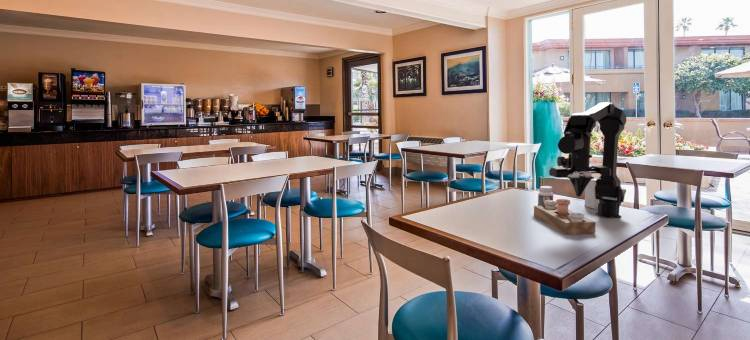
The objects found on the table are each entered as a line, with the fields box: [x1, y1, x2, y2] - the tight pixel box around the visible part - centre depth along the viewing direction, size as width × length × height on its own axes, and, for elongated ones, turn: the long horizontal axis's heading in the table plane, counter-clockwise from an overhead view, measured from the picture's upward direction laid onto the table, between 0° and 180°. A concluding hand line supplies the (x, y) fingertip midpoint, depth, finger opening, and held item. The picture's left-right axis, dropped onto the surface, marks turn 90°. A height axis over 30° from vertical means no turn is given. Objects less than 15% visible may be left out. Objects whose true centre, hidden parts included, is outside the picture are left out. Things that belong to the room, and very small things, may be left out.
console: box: [533, 205, 597, 235], centre depth 151 cm, size 10×25×4 cm, turn 3°
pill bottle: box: [537, 185, 554, 206], centre depth 170 cm, size 6×6×10 cm
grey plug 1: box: [544, 199, 557, 209], centre depth 160 cm, size 5×5×6 cm
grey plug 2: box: [569, 211, 585, 222], centre depth 141 cm, size 5×5×6 cm
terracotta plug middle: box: [555, 198, 571, 215], centre depth 150 cm, size 5×5×6 cm
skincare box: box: [584, 177, 599, 210], centre depth 174 cm, size 6×4×12 cm
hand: (578, 196), depth 142 cm, fingers closed
